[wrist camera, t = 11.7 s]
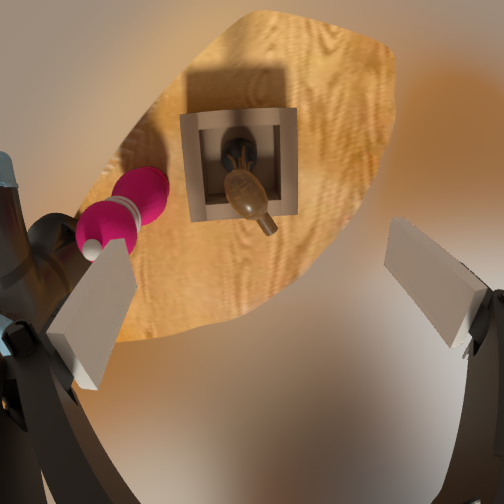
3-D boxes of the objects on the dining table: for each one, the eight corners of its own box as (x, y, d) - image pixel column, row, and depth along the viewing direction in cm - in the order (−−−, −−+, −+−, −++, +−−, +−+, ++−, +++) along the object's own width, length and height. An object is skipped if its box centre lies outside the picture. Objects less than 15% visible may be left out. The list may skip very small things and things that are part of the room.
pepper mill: (115, 185, 37) (39, 248, 19) (150, 152, 36) (83, 192, 18) (147, 221, 40) (95, 305, 22) (183, 191, 38) (147, 262, 21)
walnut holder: (196, 206, 40) (190, 222, 34) (187, 114, 34) (179, 114, 28) (288, 200, 40) (297, 214, 35) (286, 108, 34) (296, 107, 29)
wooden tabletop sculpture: (267, 167, 37) (303, 227, 19) (238, 185, 38) (245, 260, 20) (243, 130, 34) (258, 152, 17) (213, 149, 35) (195, 192, 18)
